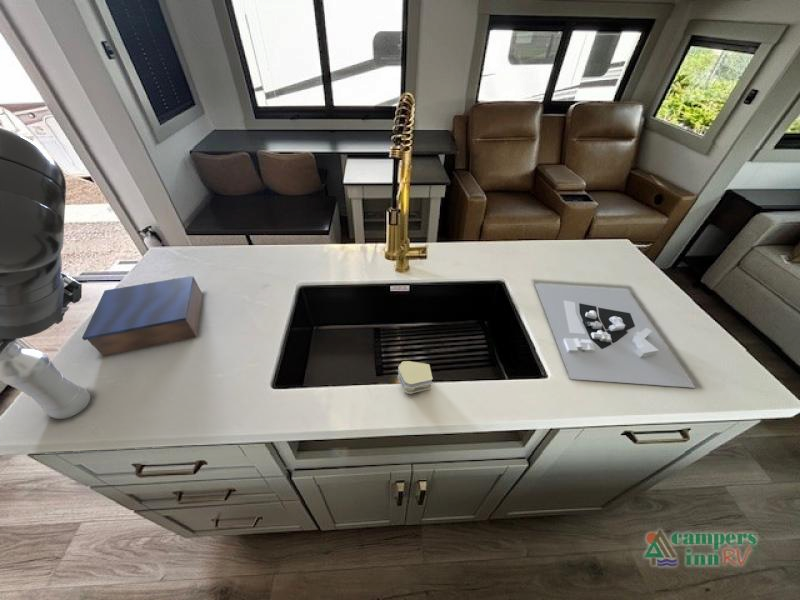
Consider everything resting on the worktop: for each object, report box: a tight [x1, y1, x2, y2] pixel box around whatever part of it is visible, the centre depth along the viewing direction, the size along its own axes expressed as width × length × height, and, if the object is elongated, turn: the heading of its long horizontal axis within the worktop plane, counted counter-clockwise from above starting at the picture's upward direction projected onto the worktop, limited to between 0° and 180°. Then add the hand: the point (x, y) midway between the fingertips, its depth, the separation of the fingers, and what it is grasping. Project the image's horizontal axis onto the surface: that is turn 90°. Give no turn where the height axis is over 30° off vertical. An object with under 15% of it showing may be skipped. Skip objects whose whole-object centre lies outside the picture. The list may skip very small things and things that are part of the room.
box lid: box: [81, 275, 195, 341], centre depth 80 cm, size 20×17×1 cm
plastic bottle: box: [0, 342, 91, 420], centre depth 61 cm, size 6×7×20 cm
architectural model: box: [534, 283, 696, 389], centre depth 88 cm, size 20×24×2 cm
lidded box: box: [87, 278, 203, 357], centre depth 83 cm, size 20×17×7 cm
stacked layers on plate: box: [397, 360, 434, 395], centre depth 72 cm, size 10×9×6 cm
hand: (20, 340), depth 44 cm, fingers open, 8 cm apart
